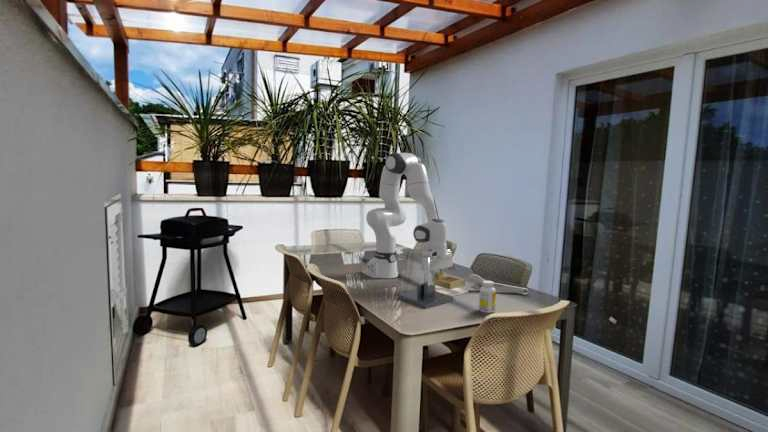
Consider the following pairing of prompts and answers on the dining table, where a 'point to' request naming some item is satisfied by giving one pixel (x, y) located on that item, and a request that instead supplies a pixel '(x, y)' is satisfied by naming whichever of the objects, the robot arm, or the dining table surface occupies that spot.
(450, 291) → the pad
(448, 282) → the collar
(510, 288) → the wrench
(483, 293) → the supplement bottle
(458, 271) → the dining table surface
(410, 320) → the dining table surface
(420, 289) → the rod stand
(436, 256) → the robot arm
